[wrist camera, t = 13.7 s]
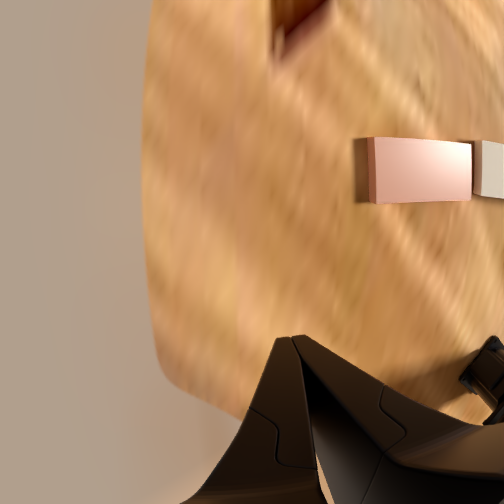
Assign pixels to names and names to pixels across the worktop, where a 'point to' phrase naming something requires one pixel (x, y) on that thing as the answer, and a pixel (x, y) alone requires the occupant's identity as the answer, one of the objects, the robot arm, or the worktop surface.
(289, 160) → the worktop surface
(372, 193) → the pink rectangular block
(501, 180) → the ivory tile
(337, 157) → the worktop surface
